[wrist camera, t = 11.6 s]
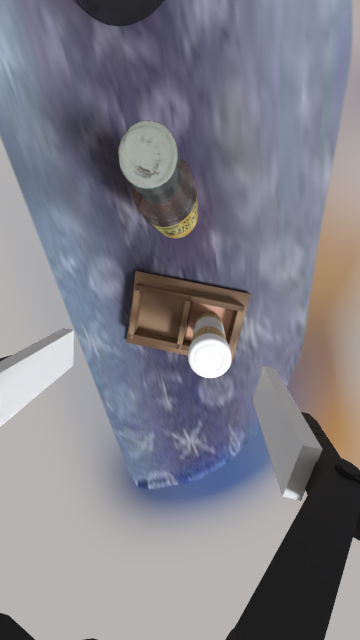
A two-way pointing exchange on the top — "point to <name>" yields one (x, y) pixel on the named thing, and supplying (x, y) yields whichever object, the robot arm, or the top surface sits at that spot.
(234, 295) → the slot rack
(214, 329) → the sprinkles bottle
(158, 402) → the top surface
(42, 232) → the top surface
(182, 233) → the sauce bottle
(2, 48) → the top surface
